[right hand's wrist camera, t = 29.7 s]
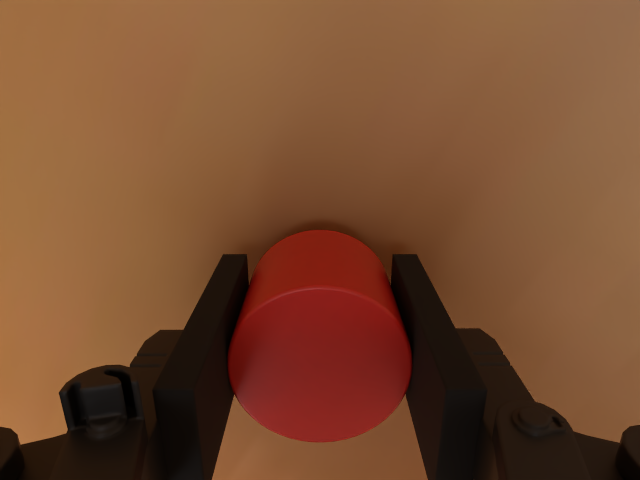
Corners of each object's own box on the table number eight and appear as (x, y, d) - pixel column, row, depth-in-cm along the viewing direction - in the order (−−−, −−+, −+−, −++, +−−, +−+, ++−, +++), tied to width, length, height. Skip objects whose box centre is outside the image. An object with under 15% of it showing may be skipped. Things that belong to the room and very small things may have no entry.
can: (277, 368, 16) (263, 460, 12) (229, 252, 15) (196, 316, 11) (404, 334, 16) (431, 419, 12) (368, 211, 14) (387, 262, 10)
